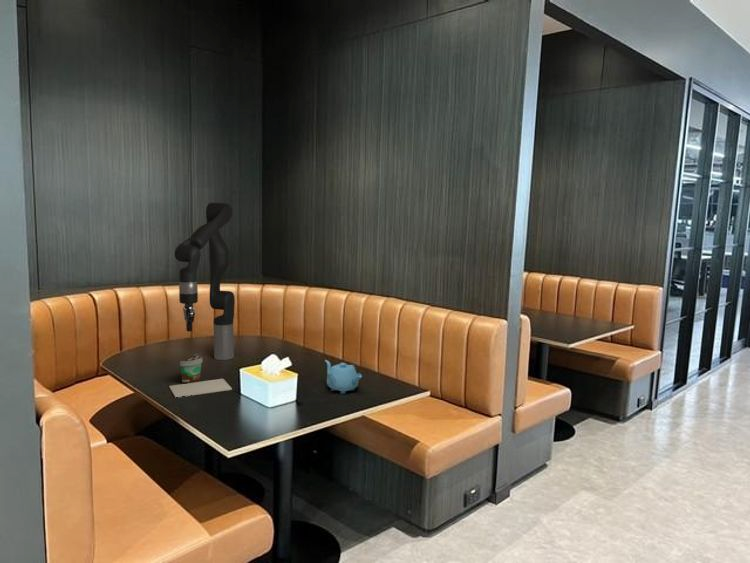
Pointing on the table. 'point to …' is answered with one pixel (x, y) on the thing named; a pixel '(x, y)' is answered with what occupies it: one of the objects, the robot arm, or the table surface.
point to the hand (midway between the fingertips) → (189, 331)
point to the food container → (191, 369)
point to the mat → (199, 388)
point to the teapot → (342, 377)
